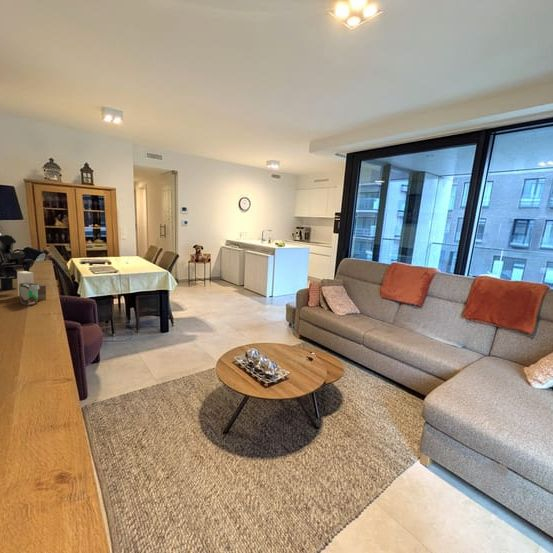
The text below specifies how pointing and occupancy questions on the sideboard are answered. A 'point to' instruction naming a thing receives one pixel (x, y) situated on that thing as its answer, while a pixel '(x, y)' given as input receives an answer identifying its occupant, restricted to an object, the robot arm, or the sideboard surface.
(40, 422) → the sideboard surface
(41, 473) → the sideboard surface
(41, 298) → the dispenser
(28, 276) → the white upright block
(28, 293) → the food container
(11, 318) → the sideboard surface
